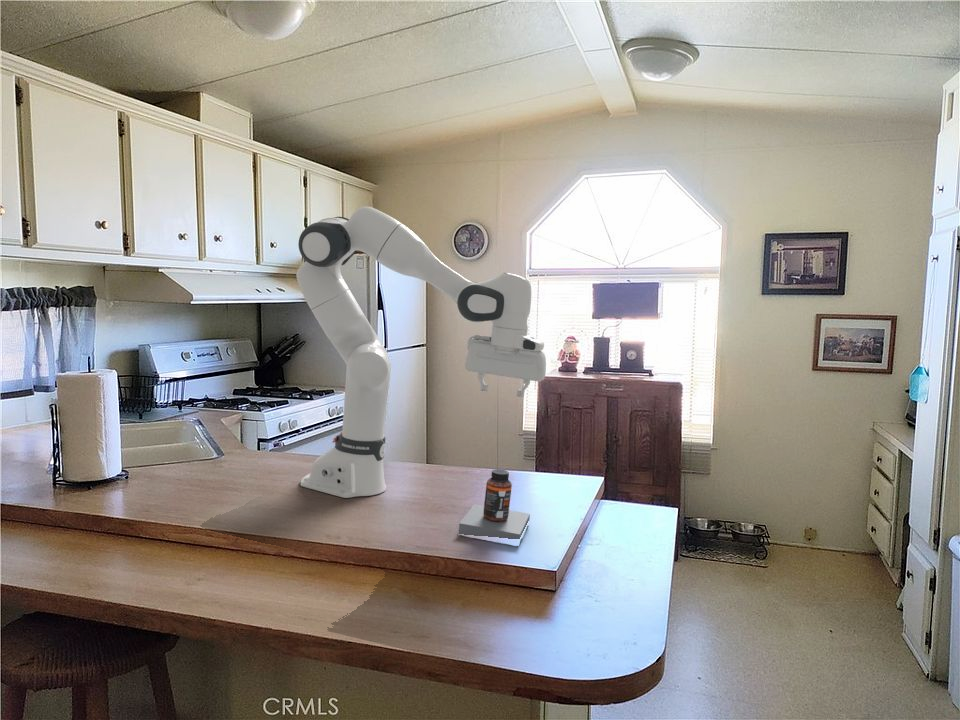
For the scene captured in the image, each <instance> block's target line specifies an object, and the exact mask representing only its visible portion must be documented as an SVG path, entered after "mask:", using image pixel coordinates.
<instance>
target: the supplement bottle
mask: <svg viewBox="0 0 960 720" xmlns="http://www.w3.org/2000/svg"><path fill="white" fill-rule="evenodd" d="M509 474H510V473H509V471H508V470H506V469H500V468H499V469H498V468H497V469H496V468H495V469H492V470H491V477H490V478H488V479H487V480H486V486H485V493H484V503H483V506H484V513H483V515H484V517H485V518H486V519H488V520H491V521H496V522H502V521H505V520H507V519H508V515H509V510H510V506H511V505H510V504H511V502H510V501H511V495H512V487H513V486H512V485H513V484H512V482H511V480H510V479H509V476H510V475H509Z"/></svg>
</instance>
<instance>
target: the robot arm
mask: <svg viewBox="0 0 960 720" xmlns="http://www.w3.org/2000/svg"><path fill="white" fill-rule="evenodd" d="M297 246H298V250H299V253H300V255H301V257H302V258H303V259H304V260H305V262H303V263H302V264H301V265H300V266H299V268H297V271H296V276H295V277H296V281H297V284H298V285H299V289H300V291H301V293H302V295H303V297H304V300H305V301H306V303H307V305H308V307H309V309H310V310H311V312H312V314H313V316H314V317H315V319H316V320H317V322H318V324H319V326H320V327H321V329H322V330H323V332H324V334H325V335H326V337H327V338H328V340H329V341H330V342H331V344H332V345H333V347H334V348H335V349H336V351H337V353H338V354H339V356H340V357H341V358H342V360H343V362H344V363H345V365H346V370H345V382H344V383H345V386H344V403H343V416H342V420H343V421H342V427H341V428H342V429H341V431H342V432H340V433H339V434H337V435H336V436H335V437H334V438H332V443H333V444H335V445H334V447H332V448H331V449H329V450H328V451H326V452H325V453H323V454H322V455H320V456H318V457H317V458H316V459H315V460H314V461H313V463H312V465H311V468H310V472H309V473H308V474H307V475H304V476H303V477H302V478H301V480H300V486H301V487H303V488H307V489H311V490H314V491H318V492H322V493H325V494H329V495H332V496H336V497H340V498H345V499H349V498H354V497H355V498H356V497H368V496H369V497H370V496H375V495H379V494H381V493H383V492H385V491H386V490H387V484H386V481H385V472H384V458H385V453H386V436H385V433H386V432H385V430H386V416H387V405H388V397H389V388H390V380H391V379H390V378H391V369H392V365H391V361H390V358H389V354H388V351H387V350H386V348H385V346H384V345H383V343H382V341H381V340H380V338H379V336H378V335H377V333H376V331H375V330H374V328H373V326H372V325H371V323H370V321H369V320H368V319H367V317H366V315H365V314H364V311H363V310H362V309H361V307H360V305H359V303H358V302H357V299H356V298H355V296H354V295H353V293H352V291H351V290H350V288H349V286H348V284H347V283H346V281H345V279H344V277H343V275H342V273H341V267H342V266H344V265H346V263H348V261H349V260H350V259H352V257H353V256H354V255H355V253H357V252H362V253H364V254H366V255H368V256H369V257H371V258H372V259H373V260H375V261H376V262H378V263H379V264H380V265H383V267H386V268H388V269H389V270H391V271H393V272H395V273H397V274H400V275H403V276H407V277H412V278H416V279H419V280H421V281H423V282H426V283H428V284H429V285H432V286H433V287H434V288H436V289H437V290H439V291H440V292H442V293H443V294H445V295H446V296H447V297H449V298H450V299H451V300H453V301H454V302H455V303H456V304H457V309H458V311H459V313H460V315H461V316H462V318H464V319H465V320H466V321H468V322H470V323H476V324H477V323H483V322H489V321H490V322H492V327H491V335H490V336H486V335H485V336H483V335H478V334H474V336H470V337H469V338H468V341H467V346H466V347H467V355H466V357H465V364H464V367H465V369H466V370H467V372H472V373H477V378H478V381H479V384H480V391H481V392H488V390H489V384H488V383H486V382H485V376H486V374H487V375H492V376H493V375H494V376H500V377H505V378H511V379H519V380H523V381H522V384H523V387H522V388H518V389H517V394H516V396H517V397H518V398H524V397H525V391H526V389H527V388H528V387H529V385H530V384H531V382H532V381H533V382H537V383H538V382H542V381H544V380H545V378H546V374H547V373H546V372H547V361H546V355H545V352H544V351H543V350H544V348H545V343H544V342H543V341H542V340H540V339H537V338H535V337H534V336H532V335H529V334H528V332H529V330H528V329H529V328H528V327H529V326H528V318H529V315H530V313H531V305H532V285H531V282H530V281H529V280H528V279H526V278H525V277H524V276H520V275H518V274H515V273H510V272H502V273H500V274H499V275H497V276H495V277H493V278H489V279H487V280H484V281H481V282H476V281H471V280H470V279H467V278H465V277H464V276H462V275H461V274H459V273H458V272H456V271H455V270H453V269H452V268H450V267H449V266H447V265H446V264H444V263H443V262H442V261H441V260H440V259H438V257H436V255H435V254H434V253H433V252H432V250H430V249H429V246H427V244H426V243H425V242H424V241H423V240H422V239H421V238H420V237H419V236H418V235H417V234H416V233H414V231H412V230H411V229H410V228H409V227H407V226H406V225H405V224H403V223H402V222H401V221H399V220H397V219H395V217H392V216H390V215H389V214H387V213H385V212H383V211H381V210H379V209H377V208H374V207H372V206H366V205H365V206H361V207H360V208H358V209H357V210H355V211H354V212H353V213H352V214H351V216H350V217H349V218H347V217H343V216H334V217H327V218H323V219H320V220H319V221H316V222H313V223H311V224H310V225H308V226H307V227H305V228H304V229H303V230H302V232H301V233H300V235H299V239H298V245H297Z"/></svg>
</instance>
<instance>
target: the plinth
mask: <svg viewBox="0 0 960 720" xmlns="http://www.w3.org/2000/svg"><path fill="white" fill-rule="evenodd" d="M483 513H484V504H477V503H474V504H473V505H472V506H471V508H470V509H469V510H468V512H467V513H466V514H465V515H464V517H463V518H462V519H461V520H460V522H459V524H458V525H459V526H458V534H464V535H474V536H488V537H499V538H508V539H520V537H521V535H522V533H523V531H524V529H525V527H526V525H527V523H528V521H529V522H530V518H531V516H530V515H531V513H529V512H527V513H526V512H521V511H515V510H511V509H509V515H508V519H507V520H505V521H502V522H496V521H491V520H488V519H486V518H485V517H484V515H483ZM458 534H457V535H458Z"/></svg>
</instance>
